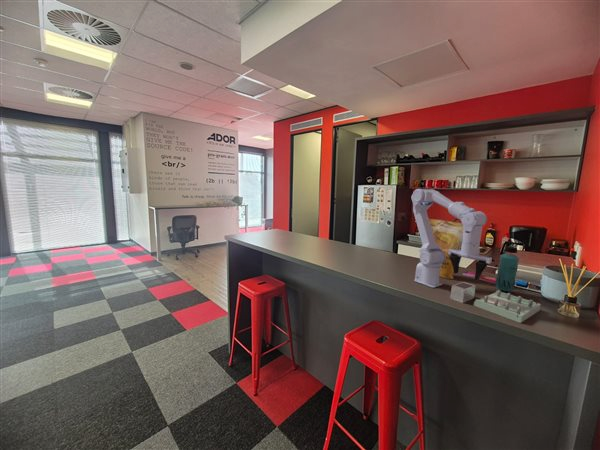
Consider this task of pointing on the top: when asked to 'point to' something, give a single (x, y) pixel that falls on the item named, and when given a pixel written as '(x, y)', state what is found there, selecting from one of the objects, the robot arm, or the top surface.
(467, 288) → the block
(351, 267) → the top surface
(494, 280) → the smartphone
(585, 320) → the top surface
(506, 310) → the tray
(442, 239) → the pancake mix bag
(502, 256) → the beverage bottle
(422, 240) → the robot arm
